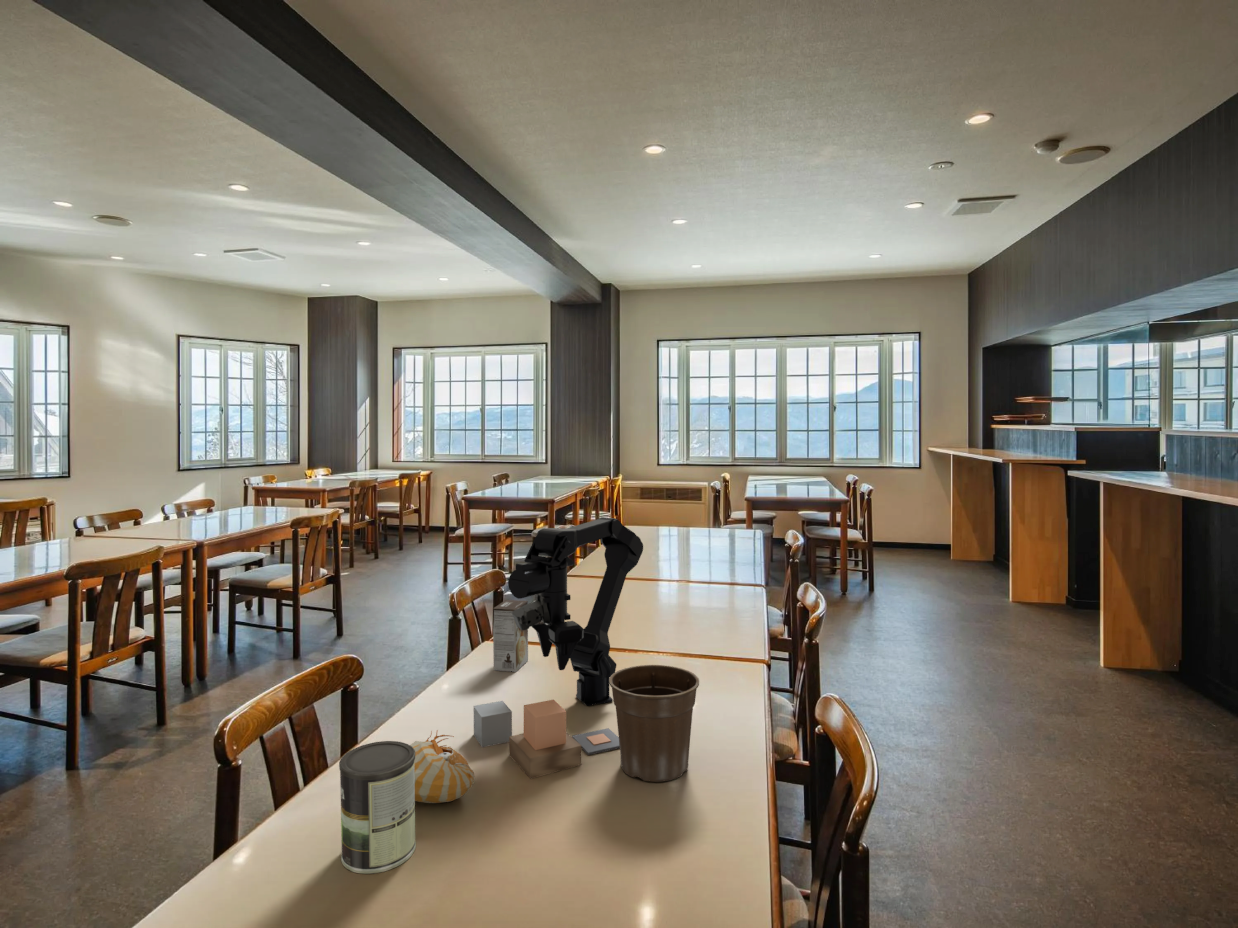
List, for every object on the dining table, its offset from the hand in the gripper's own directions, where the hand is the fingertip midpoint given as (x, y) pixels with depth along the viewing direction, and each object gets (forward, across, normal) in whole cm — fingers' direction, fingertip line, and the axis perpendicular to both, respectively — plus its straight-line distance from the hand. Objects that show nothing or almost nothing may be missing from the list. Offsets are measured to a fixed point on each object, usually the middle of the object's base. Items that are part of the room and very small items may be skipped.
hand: (553, 662), depth 145 cm
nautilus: (+12, +17, -28) cm, 35 cm away
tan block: (+12, +16, -8) cm, 22 cm away
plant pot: (+12, +27, +9) cm, 31 cm away
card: (+12, +14, +4) cm, 19 cm away
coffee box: (+12, -36, +2) cm, 38 cm away
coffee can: (+12, +32, -39) cm, 52 cm away
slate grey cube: (+12, +3, -14) cm, 19 cm away
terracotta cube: (+8, +16, -8) cm, 20 cm away
